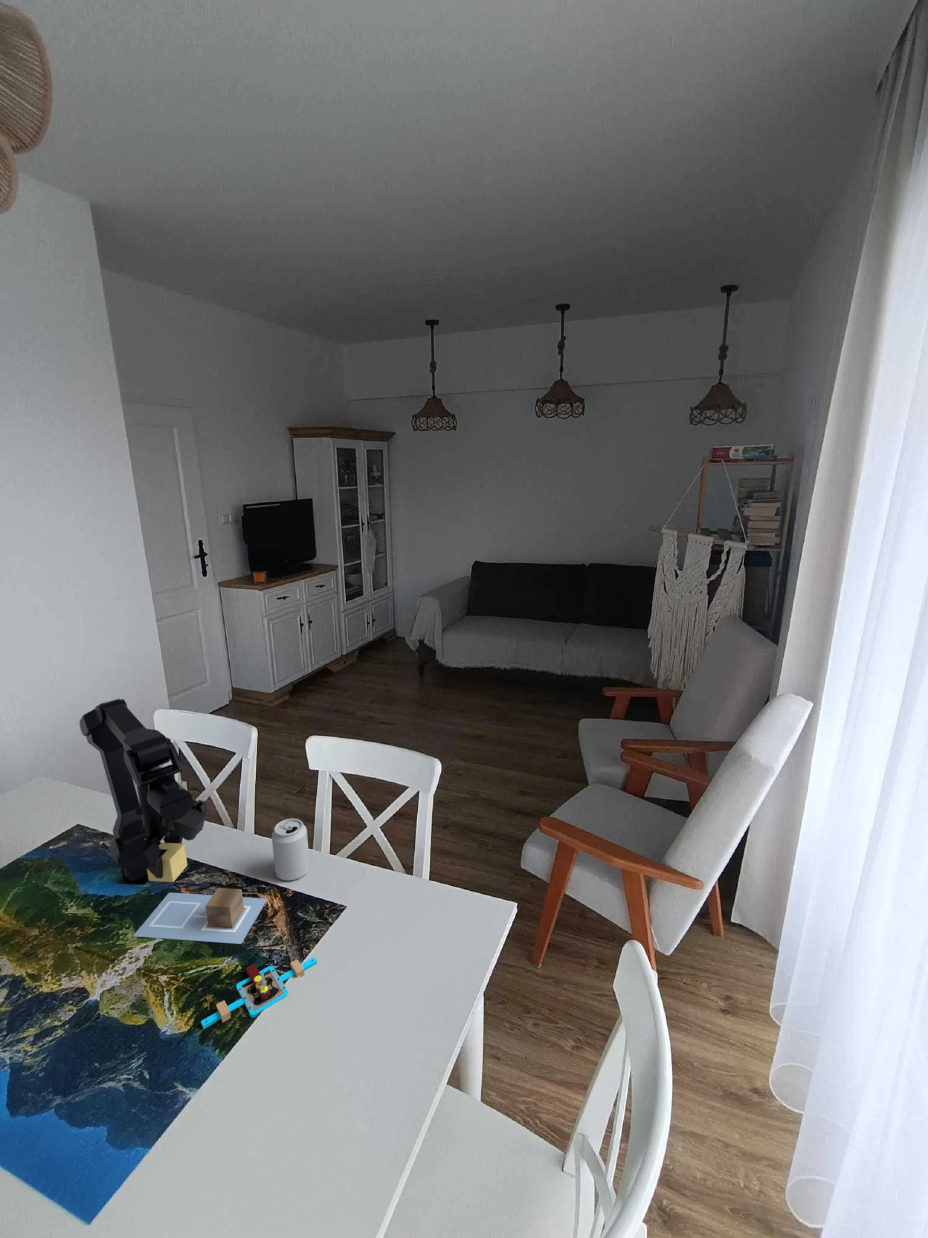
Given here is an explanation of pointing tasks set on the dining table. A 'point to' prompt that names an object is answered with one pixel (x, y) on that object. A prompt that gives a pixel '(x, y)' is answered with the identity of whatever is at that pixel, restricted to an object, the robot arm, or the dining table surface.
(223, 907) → the walnut cube
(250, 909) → the blueprint sheet
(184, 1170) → the dining table surface
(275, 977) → the gear mechanism
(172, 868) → the ochre block
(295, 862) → the can
